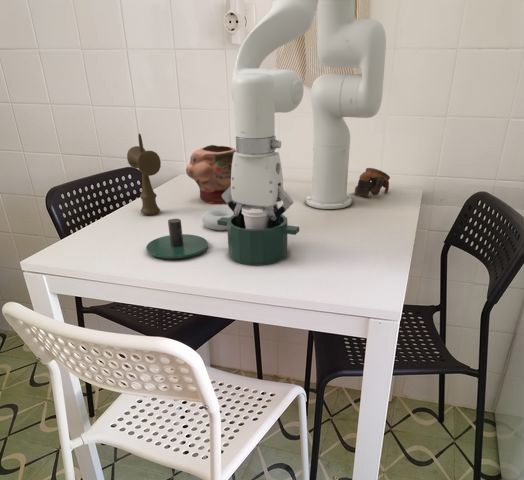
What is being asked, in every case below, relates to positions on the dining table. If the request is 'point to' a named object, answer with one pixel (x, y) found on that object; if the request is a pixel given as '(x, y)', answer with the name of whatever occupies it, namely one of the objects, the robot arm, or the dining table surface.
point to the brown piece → (376, 184)
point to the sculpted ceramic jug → (211, 171)
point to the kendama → (145, 174)
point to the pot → (257, 242)
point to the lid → (176, 243)
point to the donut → (216, 218)
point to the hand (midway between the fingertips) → (257, 234)
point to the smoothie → (255, 217)
